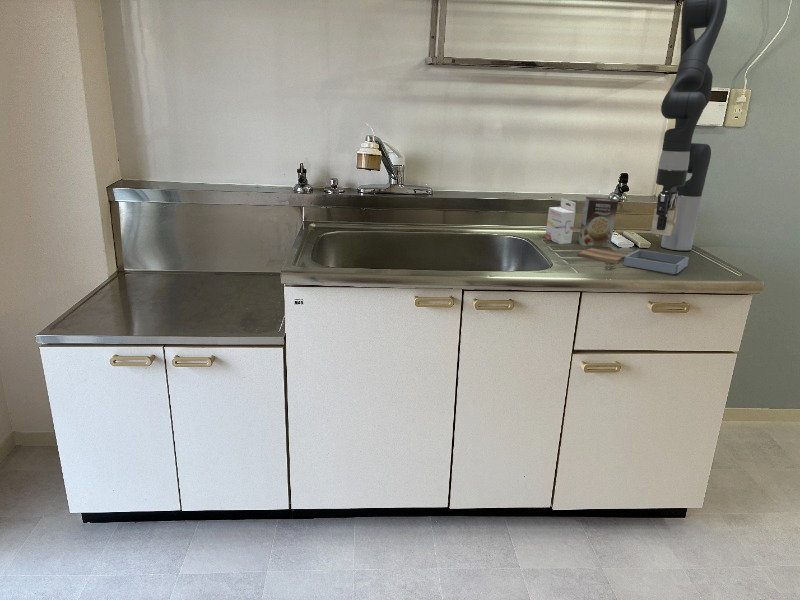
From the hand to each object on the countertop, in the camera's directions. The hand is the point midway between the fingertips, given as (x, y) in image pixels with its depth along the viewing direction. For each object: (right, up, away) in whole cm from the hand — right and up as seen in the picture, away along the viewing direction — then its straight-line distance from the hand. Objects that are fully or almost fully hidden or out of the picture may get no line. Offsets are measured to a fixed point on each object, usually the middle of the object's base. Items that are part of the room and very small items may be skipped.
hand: (663, 228), depth 165 cm
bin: (-1, -11, +3) cm, 11 cm away
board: (-13, -8, +11) cm, 19 cm away
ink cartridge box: (-23, -2, +28) cm, 36 cm away
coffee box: (-11, -3, +25) cm, 28 cm away
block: (0, -1, 0) cm, 1 cm away
